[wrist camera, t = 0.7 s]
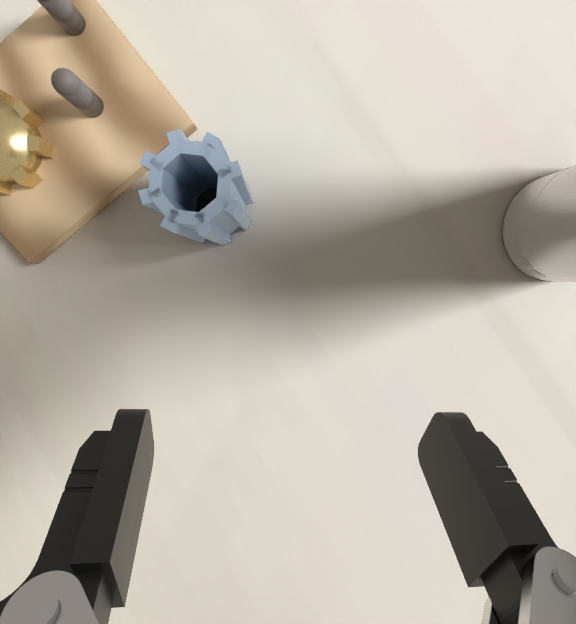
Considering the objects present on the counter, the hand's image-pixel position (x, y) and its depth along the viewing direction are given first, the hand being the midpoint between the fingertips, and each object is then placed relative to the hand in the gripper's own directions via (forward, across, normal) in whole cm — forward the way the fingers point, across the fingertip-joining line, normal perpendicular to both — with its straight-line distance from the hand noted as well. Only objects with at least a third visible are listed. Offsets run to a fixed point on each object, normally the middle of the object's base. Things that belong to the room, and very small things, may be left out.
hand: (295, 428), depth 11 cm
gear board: (+31, +17, +1) cm, 35 cm away
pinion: (+26, +4, +5) cm, 27 cm away
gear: (+29, +20, +2) cm, 35 cm away
